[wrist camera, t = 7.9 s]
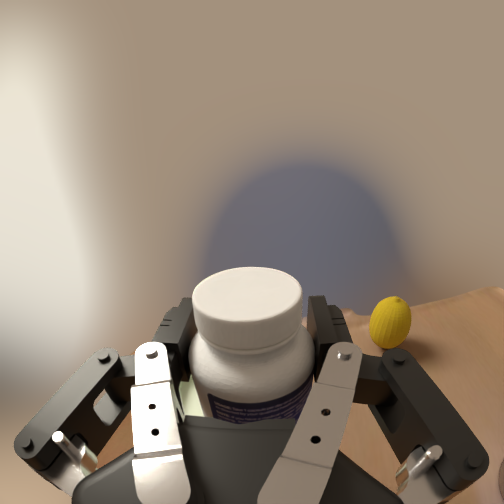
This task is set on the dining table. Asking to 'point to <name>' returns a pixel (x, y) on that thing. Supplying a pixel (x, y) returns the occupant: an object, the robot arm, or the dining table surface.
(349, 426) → the dining table surface
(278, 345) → the pill bottle
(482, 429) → the dining table surface
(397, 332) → the lemon
